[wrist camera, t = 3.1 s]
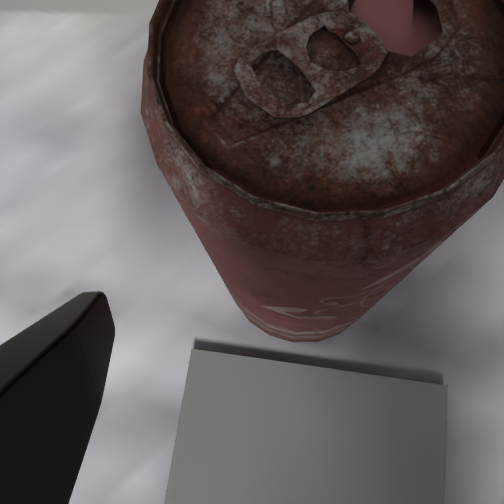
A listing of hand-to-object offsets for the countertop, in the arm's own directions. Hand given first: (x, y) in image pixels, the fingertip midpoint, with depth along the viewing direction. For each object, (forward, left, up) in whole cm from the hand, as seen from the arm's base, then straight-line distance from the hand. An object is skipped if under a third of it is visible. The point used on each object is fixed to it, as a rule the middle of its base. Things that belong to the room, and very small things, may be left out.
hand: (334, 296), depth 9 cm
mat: (-6, 0, -10) cm, 12 cm away
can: (+3, +1, -11) cm, 11 cm away
